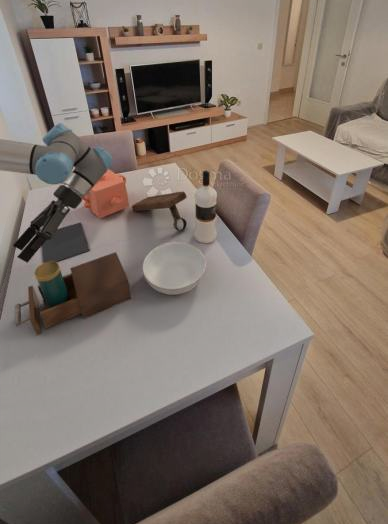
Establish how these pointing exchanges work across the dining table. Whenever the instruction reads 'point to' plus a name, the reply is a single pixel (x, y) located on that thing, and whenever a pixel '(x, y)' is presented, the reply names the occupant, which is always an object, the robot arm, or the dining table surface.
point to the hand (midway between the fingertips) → (19, 253)
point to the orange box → (107, 195)
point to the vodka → (205, 211)
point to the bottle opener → (163, 205)
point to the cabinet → (100, 284)
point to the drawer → (49, 314)
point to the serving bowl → (174, 267)
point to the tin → (52, 283)
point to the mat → (65, 243)
